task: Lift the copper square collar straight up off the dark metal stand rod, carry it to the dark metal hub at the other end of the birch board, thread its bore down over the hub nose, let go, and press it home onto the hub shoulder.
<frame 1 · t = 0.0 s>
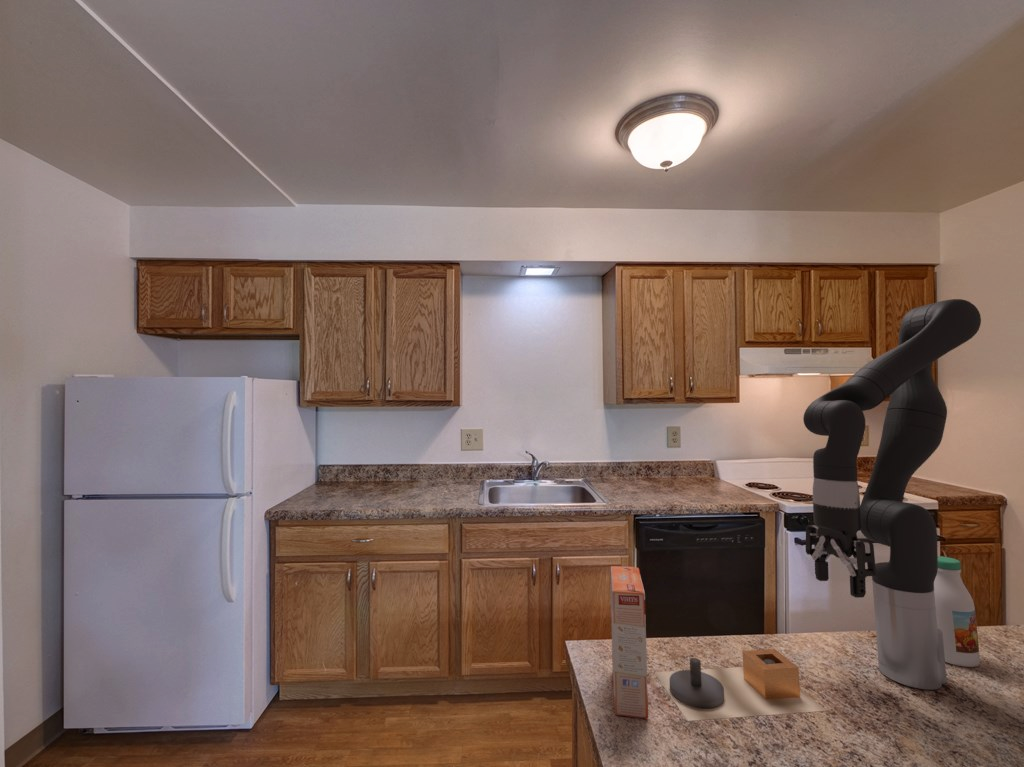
hand: (839, 588, 87), 17 cm above the countertop, tool pointing down, fingers open, 8 cm apart
cracker box: (630, 695, 83), on the countertop
collar: (771, 687, 82), point 1 cm above the countertop, touching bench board
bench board: (734, 698, 81), on the countertop
milk bottle: (953, 659, 94), on the countertop
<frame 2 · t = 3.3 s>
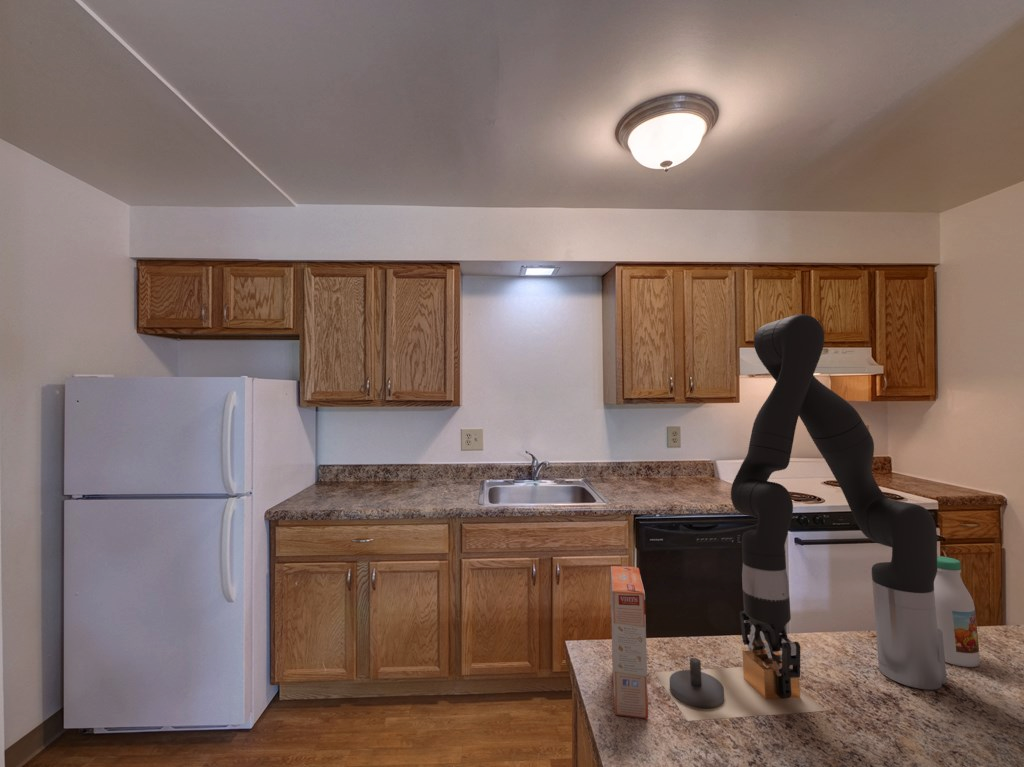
hand: (770, 684, 82), 2 cm above the countertop, tool pointing down, fingers closed on collar, 6 cm apart
collar: (771, 687, 82), point 1 cm above the countertop, touching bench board, gripper
everything else where it was.
when the fingers open (5 cm above the countertop, at t = 9.6 s): collar drops 2 cm, resting on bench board.
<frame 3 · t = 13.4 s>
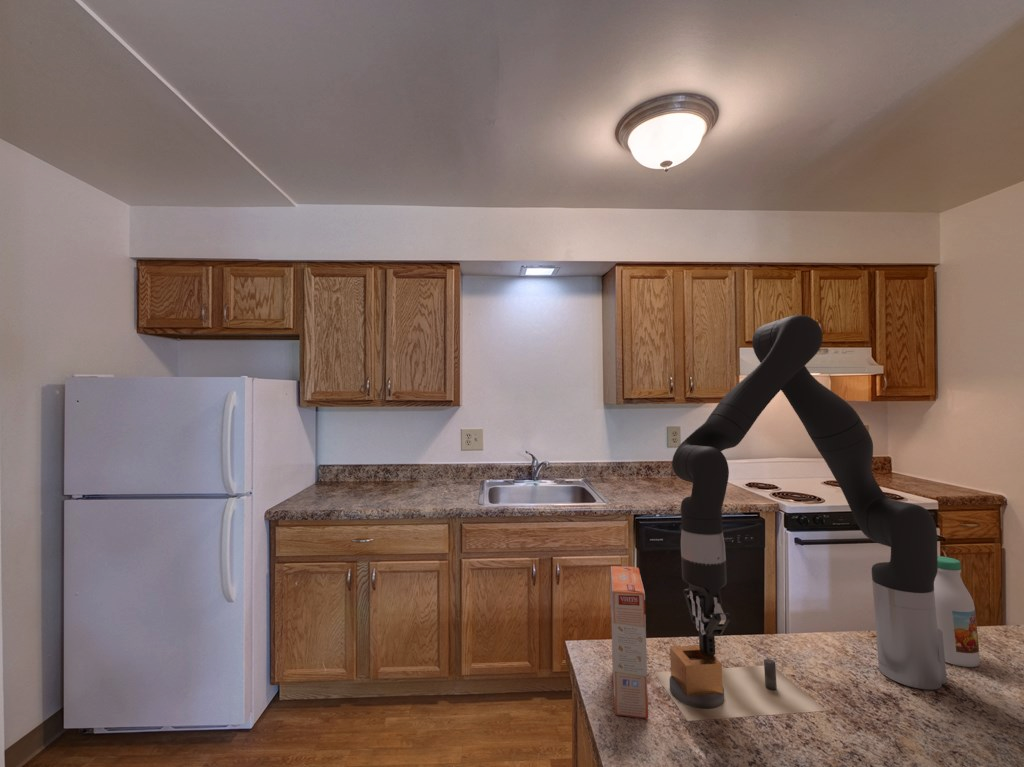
hand: (707, 653, 82), 8 cm above the countertop, tool pointing down, fingers closed
collar: (696, 683, 81), point 3 cm above the countertop, touching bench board, gripper
everything else where it was.
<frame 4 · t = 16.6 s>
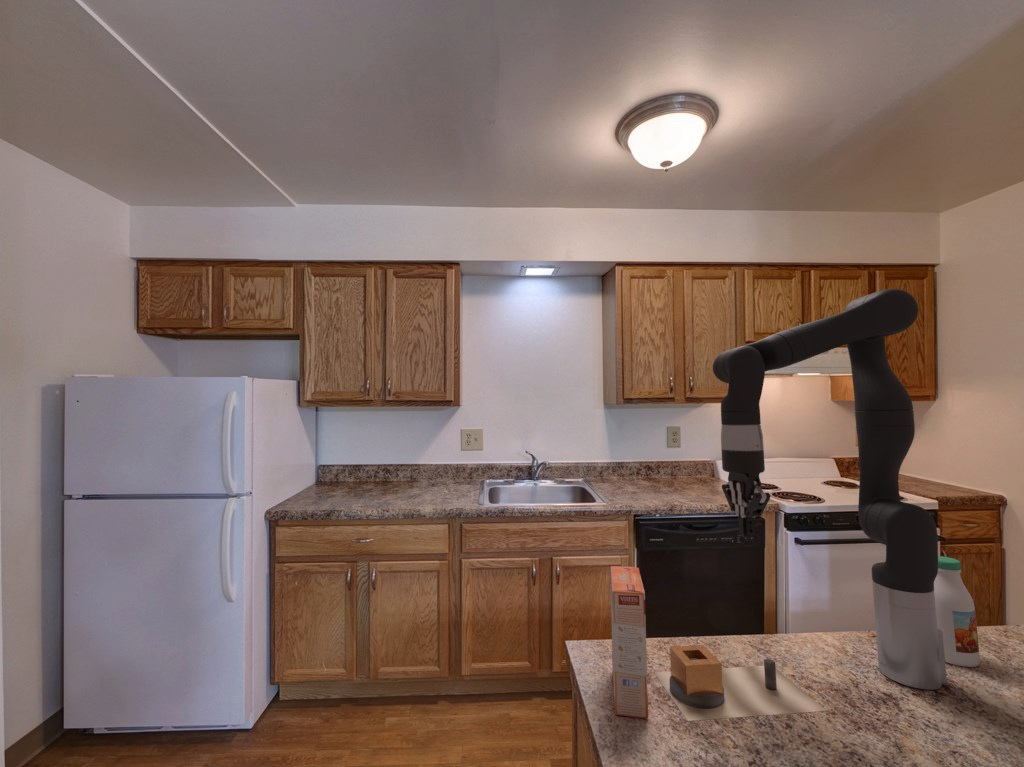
hand: (746, 536, 89), 27 cm above the countertop, tool pointing down, fingers closed
collar: (696, 683, 81), point 3 cm above the countertop, touching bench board
everything else where it was.
at the end: collar 0.0 cm from the target spot on the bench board, point 3.0 cm above the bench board's base; collar tilted 0°; the gripper is holding nothing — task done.
